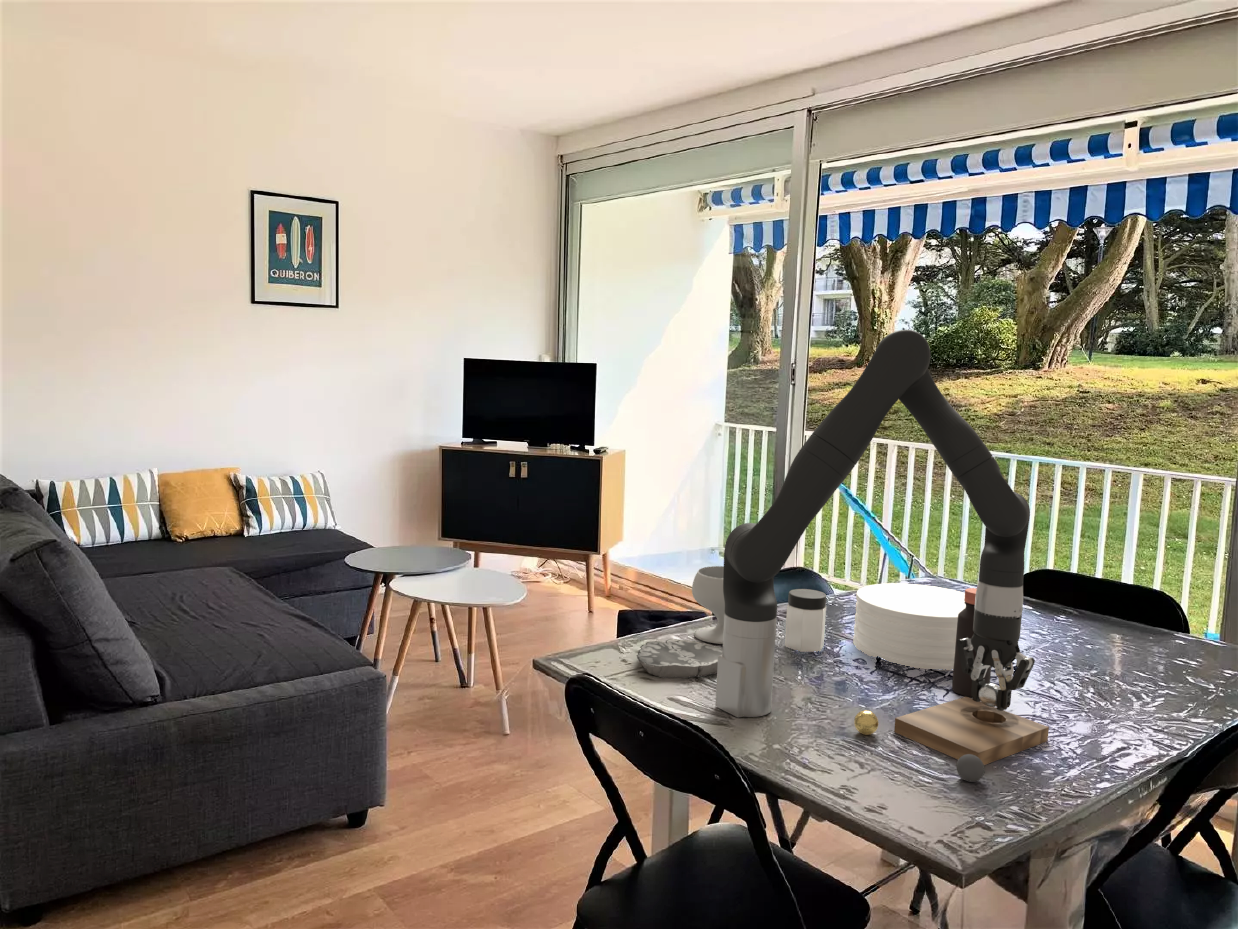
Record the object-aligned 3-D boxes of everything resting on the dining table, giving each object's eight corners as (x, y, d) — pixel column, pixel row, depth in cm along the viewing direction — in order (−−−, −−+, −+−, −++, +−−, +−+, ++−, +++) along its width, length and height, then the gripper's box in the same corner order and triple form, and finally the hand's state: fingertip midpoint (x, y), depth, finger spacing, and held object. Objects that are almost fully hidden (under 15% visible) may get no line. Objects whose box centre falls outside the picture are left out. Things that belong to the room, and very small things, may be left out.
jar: (832, 648, 202) (835, 595, 201) (808, 655, 197) (811, 600, 196) (800, 638, 209) (803, 586, 208) (776, 644, 204) (779, 591, 203)
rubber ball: (973, 789, 138) (975, 763, 137) (949, 778, 141) (951, 753, 141) (988, 782, 140) (991, 757, 140) (965, 772, 143) (967, 747, 143)
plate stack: (853, 662, 195) (857, 609, 193) (852, 625, 222) (856, 578, 220) (994, 677, 188) (999, 623, 187) (976, 638, 215) (980, 590, 214)
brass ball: (867, 740, 154) (868, 717, 154) (848, 732, 157) (849, 709, 157) (882, 735, 156) (884, 713, 156) (864, 727, 160) (865, 705, 159)
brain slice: (702, 649, 200) (703, 636, 199) (742, 675, 184) (742, 661, 184) (618, 658, 192) (619, 644, 192) (652, 686, 177) (653, 671, 176)
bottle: (991, 690, 180) (1000, 590, 178) (985, 701, 174) (994, 597, 172) (955, 683, 183) (963, 585, 181) (948, 693, 178) (956, 592, 175)
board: (977, 768, 145) (978, 752, 145) (894, 732, 158) (895, 718, 158) (1047, 741, 157) (1048, 727, 156) (964, 709, 170) (965, 696, 169)
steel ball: (993, 712, 157) (995, 689, 157) (972, 704, 160) (974, 682, 160) (1007, 707, 159) (1009, 685, 159) (986, 700, 163) (988, 678, 162)
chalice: (703, 649, 199) (706, 581, 197) (680, 629, 212) (683, 566, 211) (762, 645, 203) (766, 578, 201) (737, 626, 216) (740, 564, 215)
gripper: (948, 601, 161) (941, 696, 163) (1024, 622, 150) (1015, 723, 152) (974, 596, 166) (966, 688, 168) (1050, 616, 154) (1040, 714, 156)
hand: (990, 704), depth 160 cm, fingers closed on steel ball, 4 cm apart
